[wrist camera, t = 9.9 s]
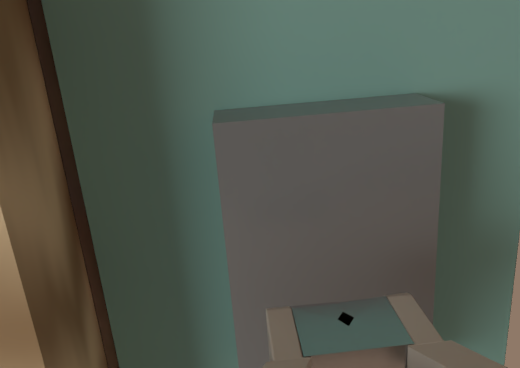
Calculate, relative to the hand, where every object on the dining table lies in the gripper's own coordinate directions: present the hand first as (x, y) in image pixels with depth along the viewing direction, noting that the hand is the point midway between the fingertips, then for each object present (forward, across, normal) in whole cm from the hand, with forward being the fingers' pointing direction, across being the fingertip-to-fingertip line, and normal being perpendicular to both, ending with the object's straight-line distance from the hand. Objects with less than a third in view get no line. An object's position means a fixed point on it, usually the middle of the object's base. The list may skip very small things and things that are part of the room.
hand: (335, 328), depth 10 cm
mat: (+6, 0, 0) cm, 6 cm away
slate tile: (+4, -1, +1) cm, 4 cm away
